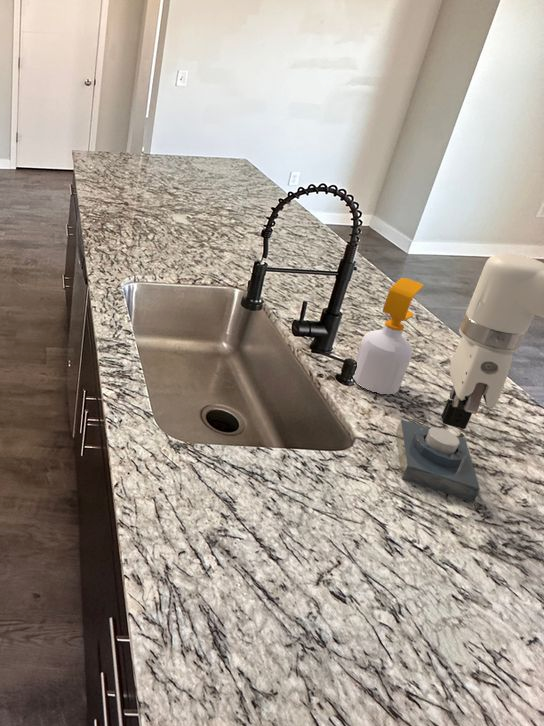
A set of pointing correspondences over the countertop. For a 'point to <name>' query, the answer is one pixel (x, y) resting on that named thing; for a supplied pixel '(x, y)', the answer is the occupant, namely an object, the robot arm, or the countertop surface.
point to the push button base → (435, 463)
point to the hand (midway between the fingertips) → (452, 423)
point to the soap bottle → (388, 343)
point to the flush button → (442, 440)
